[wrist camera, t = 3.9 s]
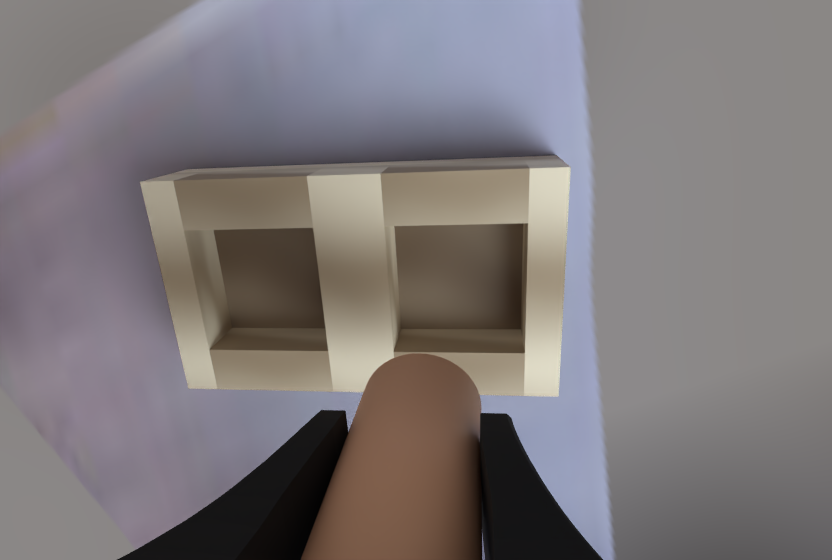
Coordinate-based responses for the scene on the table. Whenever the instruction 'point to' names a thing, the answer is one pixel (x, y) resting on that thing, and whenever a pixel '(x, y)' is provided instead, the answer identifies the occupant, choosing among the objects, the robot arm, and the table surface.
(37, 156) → the table surface
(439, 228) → the bore block
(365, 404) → the dowel
